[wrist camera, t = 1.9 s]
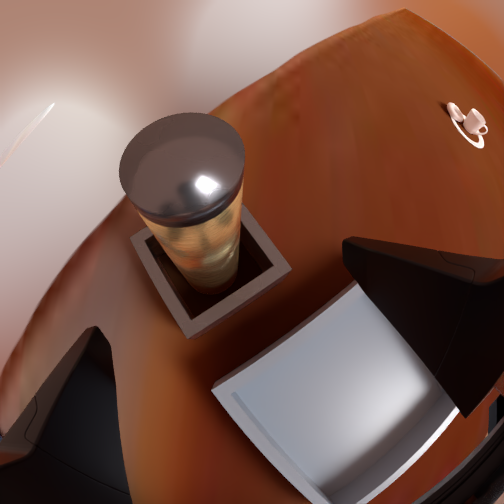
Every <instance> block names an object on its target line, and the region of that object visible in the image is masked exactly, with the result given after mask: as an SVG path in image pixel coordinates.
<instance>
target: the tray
mask: <svg viewBox="0 0 504 504" xmlns="http://www.w3.org/2000/svg"><path fill="white" fill-rule="evenodd" d="M434 377H435V376H433V375H432V373H431V372H430V371H429V370H428V368H427V367H426V366H425V365H424V363H423V362H422V361H421V359H420V358H419V357H418V356H417V355H416V353H415V352H414V351H413V350H412V348H411V347H410V346H409V345H408V343H407V342H406V341H405V340H404V339H403V337H402V336H401V335H400V334H399V333H398V331H397V330H396V329H395V328H394V327H393V326H392V324H391V323H390V322H389V321H388V320H387V318H386V317H385V316H384V315H383V314H382V313H381V312H380V310H379V309H378V308H377V307H376V306H375V305H374V304H373V302H372V301H371V300H370V299H369V298H368V297H367V295H366V294H365V293H364V292H363V290H362V289H361V287H360V286H359V285H358V283H357V282H356V280H354V281H353V282H352V283H350V284H349V285H348V286H347V287H346V288H344V289H343V290H342V291H341V292H340V293H338V294H337V295H336V296H335V297H333V298H332V299H331V300H330V301H328V302H327V303H326V304H325V305H323V306H322V307H321V308H320V309H318V310H317V311H316V312H314V313H313V314H312V315H311V316H309V317H308V318H307V319H305V320H304V321H303V322H301V323H300V324H299V325H297V326H296V327H295V328H293V329H292V330H291V331H289V332H288V333H287V334H285V335H284V336H282V337H281V338H280V339H278V340H277V341H275V342H274V343H273V344H271V345H270V346H268V347H267V348H266V349H264V350H263V351H261V352H260V353H258V354H257V355H255V356H254V357H252V358H251V359H249V360H248V361H246V362H245V363H243V364H242V365H240V366H239V367H237V368H236V369H234V370H233V371H231V372H230V373H228V374H227V375H225V376H223V377H222V378H220V379H219V380H217V381H215V383H214V385H213V387H212V390H211V391H212V392H213V394H214V395H215V396H216V398H217V399H218V400H219V402H220V403H221V404H222V406H223V407H224V408H225V409H226V411H227V412H228V413H229V414H230V416H231V417H232V418H233V419H234V421H235V422H236V423H237V424H238V426H239V427H240V428H241V429H242V430H243V432H244V433H245V434H246V435H247V436H248V438H249V439H250V440H251V441H252V442H253V443H254V444H255V446H256V447H257V448H258V449H259V450H260V451H261V452H262V453H263V455H264V456H265V457H266V458H267V459H268V460H269V461H270V462H271V463H272V464H273V465H274V466H275V467H276V468H277V469H278V471H279V472H280V473H281V474H282V475H283V476H284V477H285V478H286V479H287V480H288V481H289V482H290V483H291V484H292V485H293V486H294V487H295V488H297V489H298V490H299V491H300V492H301V493H302V494H303V495H304V496H305V497H306V498H307V499H308V500H309V501H310V502H312V503H313V504H366V503H367V502H369V501H370V500H371V499H373V498H374V497H375V496H377V495H378V494H379V493H380V492H382V491H383V490H384V489H385V488H387V487H388V486H389V485H390V484H391V483H392V482H394V481H395V480H396V479H397V478H398V477H399V476H400V475H402V474H403V473H404V472H405V471H406V470H407V469H408V468H409V467H410V466H411V465H412V464H413V463H414V462H415V461H416V460H417V459H418V458H419V457H420V456H421V455H422V454H423V453H424V452H425V451H426V450H427V449H428V448H429V447H430V446H431V445H432V444H433V442H434V441H435V440H436V439H437V438H438V437H439V436H440V434H441V433H442V432H443V431H444V430H445V429H446V427H447V426H448V425H449V424H450V422H451V421H452V420H453V419H454V417H455V416H456V415H457V413H458V412H459V410H458V408H457V407H456V406H455V404H454V403H453V401H452V400H451V399H450V397H449V396H448V395H447V393H446V392H445V391H444V389H443V388H442V387H441V385H440V384H439V383H438V381H437V380H436V379H435V378H434Z"/></svg>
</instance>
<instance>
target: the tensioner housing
mask: <svg viewBox="0 0 504 504" xmlns="http://www.w3.org/2000/svg"><path fill="white" fill-rule="evenodd" d="M130 240H131V242H132V244H133V246H134V248H135V250H136V252H137V254H138V255H139V257H140V259H141V261H142V263H143V265H144V267H145V269H146V270H147V272H148V274H149V276H150V278H151V279H152V281H153V283H154V285H155V287H156V288H157V290H158V292H159V294H160V295H161V297H162V299H163V300H164V302H165V304H166V305H167V307H168V309H169V310H170V312H171V314H172V315H173V317H174V319H175V320H176V322H177V323H178V325H179V327H180V328H181V330H182V331H183V333H184V334H185V336H186V337H187V339H197V338H198V337H200V336H202V335H203V334H205V333H206V332H208V331H209V330H211V329H212V328H214V327H215V326H217V325H219V324H220V323H222V322H223V321H225V320H226V319H228V318H229V317H231V316H232V315H234V314H235V313H237V312H238V311H240V310H241V309H243V308H244V307H246V306H247V305H249V304H250V303H252V302H253V301H255V300H256V299H257V298H259V297H260V296H262V295H263V294H265V293H266V292H268V291H269V290H271V289H272V288H273V287H275V286H276V285H278V284H279V283H281V282H282V281H283V280H284V279H285V277H286V276H287V275H288V274H289V272H290V271H291V270H292V268H291V267H290V266H289V264H288V263H287V261H286V260H285V259H284V257H283V256H282V255H281V253H280V252H279V251H278V249H277V248H276V247H275V245H274V244H273V243H272V241H271V240H270V239H269V237H268V236H267V235H266V233H265V232H264V231H263V229H262V228H261V227H260V226H259V224H258V223H257V222H256V220H255V219H254V218H253V216H252V215H251V214H250V212H249V211H248V210H247V208H246V207H245V206H244V205H243V203H242V208H241V224H240V241H241V242H242V244H243V245H244V247H245V248H246V249H247V251H248V252H249V254H250V255H251V256H252V258H253V259H254V260H255V262H256V263H257V265H258V266H259V267H260V269H261V270H262V272H263V274H261V275H260V276H258V277H257V278H255V279H254V280H252V281H251V282H249V283H248V284H246V285H245V286H243V287H242V288H240V289H239V290H237V291H236V292H234V293H232V294H231V295H229V296H228V297H226V298H225V299H223V300H222V301H220V302H219V303H217V304H216V305H214V306H213V307H211V308H210V309H208V310H207V311H205V312H203V313H202V314H200V315H199V316H197V317H196V318H195V317H194V316H193V314H192V313H191V311H190V310H189V308H188V306H187V305H186V303H185V302H184V300H183V299H182V297H181V295H180V294H179V292H178V290H177V289H176V287H175V285H174V284H173V282H172V280H171V279H170V277H169V275H168V274H167V272H166V270H165V269H164V267H163V265H162V263H161V262H160V260H159V258H158V256H160V255H161V254H163V253H164V252H165V250H164V249H163V247H162V246H161V245H160V243H159V242H158V240H157V239H156V238H155V236H154V235H153V233H152V232H151V230H150V229H149V228H148V226H147V227H145V228H143V229H142V230H140V231H139V232H137V233H136V234H134V235H133V236H131V237H130Z"/></svg>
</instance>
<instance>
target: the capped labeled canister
mask: <svg viewBox="0 0 504 504" xmlns="http://www.w3.org/2000/svg"><path fill="white" fill-rule="evenodd" d="M244 162H245V150H244V145H243V142H242V139H241V138H240V136H239V134H238V133H237V132H236V130H235V129H234V128H233V127H232V126H231V125H229V124H228V123H227V122H225V121H223V120H221V119H220V118H217V117H215V116H212V115H208V114H203V113H181V114H175V115H171V116H167V117H164V118H162V119H159V120H157V121H155V122H153V123H152V124H150V125H148V126H147V127H145V128H144V129H143V130H141V131H140V132H139V133H138V134H137V135H136V136H135V137H134V138H133V139H132V140H131V141H130V143H129V144H128V145H127V147H126V149H125V151H124V153H123V155H122V158H121V161H120V167H119V177H120V182H121V185H122V188H123V190H124V191H125V193H126V195H127V196H128V198H129V199H130V201H131V202H132V204H133V205H134V207H135V208H136V210H137V211H138V213H139V214H140V216H141V217H142V219H143V220H144V222H145V223H146V225H147V226H148V228H149V229H150V230H151V232H152V233H153V235H154V236H155V238H156V239H157V240H158V242H159V243H160V245H161V246H162V247H163V249H164V250H165V252H166V253H167V254H168V256H169V257H170V259H171V260H172V261H173V263H174V264H175V265H176V267H177V268H178V269H179V271H180V272H181V273H182V275H183V276H184V277H185V279H186V280H187V281H188V283H189V284H190V285H191V286H192V287H193V288H194V289H195V290H197V291H198V292H201V293H204V294H218V293H221V292H223V291H225V290H226V289H228V288H229V287H230V286H231V285H232V284H233V282H234V281H235V279H236V276H237V272H238V258H239V241H240V224H241V208H242V192H243V177H244Z"/></svg>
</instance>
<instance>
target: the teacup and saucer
mask: <svg viewBox="0 0 504 504" xmlns="http://www.w3.org/2000/svg"><path fill="white" fill-rule="evenodd" d="M447 110H448V112H449V113H450V117H451V120H452V122H453V123H454V125H455V127H456V128H457V129H458V131H459V132H460V133H461V134H462V135H463V136H464V138H465V139H466V140H468V141H469V142H470V143H471V144H472V145H474V146H476V147H478V148H483V147H484V141H483V138H482V136H481V135H484V134H486V133H487V131H488V129H487V127H486V126H485V125H484V124H485V123H486V122H485V120H484V118H483V117H482V115H481V114H480V113H479V112H478V111H477V110H475V109H472V110H471V111H470V113H469V114H468V115H467V117H466V116H464V115H463V114H462V113H461V111H460V109H459V108H458V107H457V106H456V105H455V104H453V103H448V104H447ZM463 118H464V119H465V120H464V123H463V126H464V128H465V129H466V131H467V132H469V133H470V134H476V135H478V137H479V142H478V143H476V142H473V141H472V140H470V139H469V138H468V137H467V136H466V135H465V134H464V133H463V132H462V131H461V130H460V128H459V127H458V125H457V123H456V121H458V122H462V121H463ZM455 120H456V121H455ZM481 127H485V128H486V130H487V131H486V132H484V133H480V132H479V131H478V130H479V129H480V128H481ZM476 132H477V133H476Z"/></svg>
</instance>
